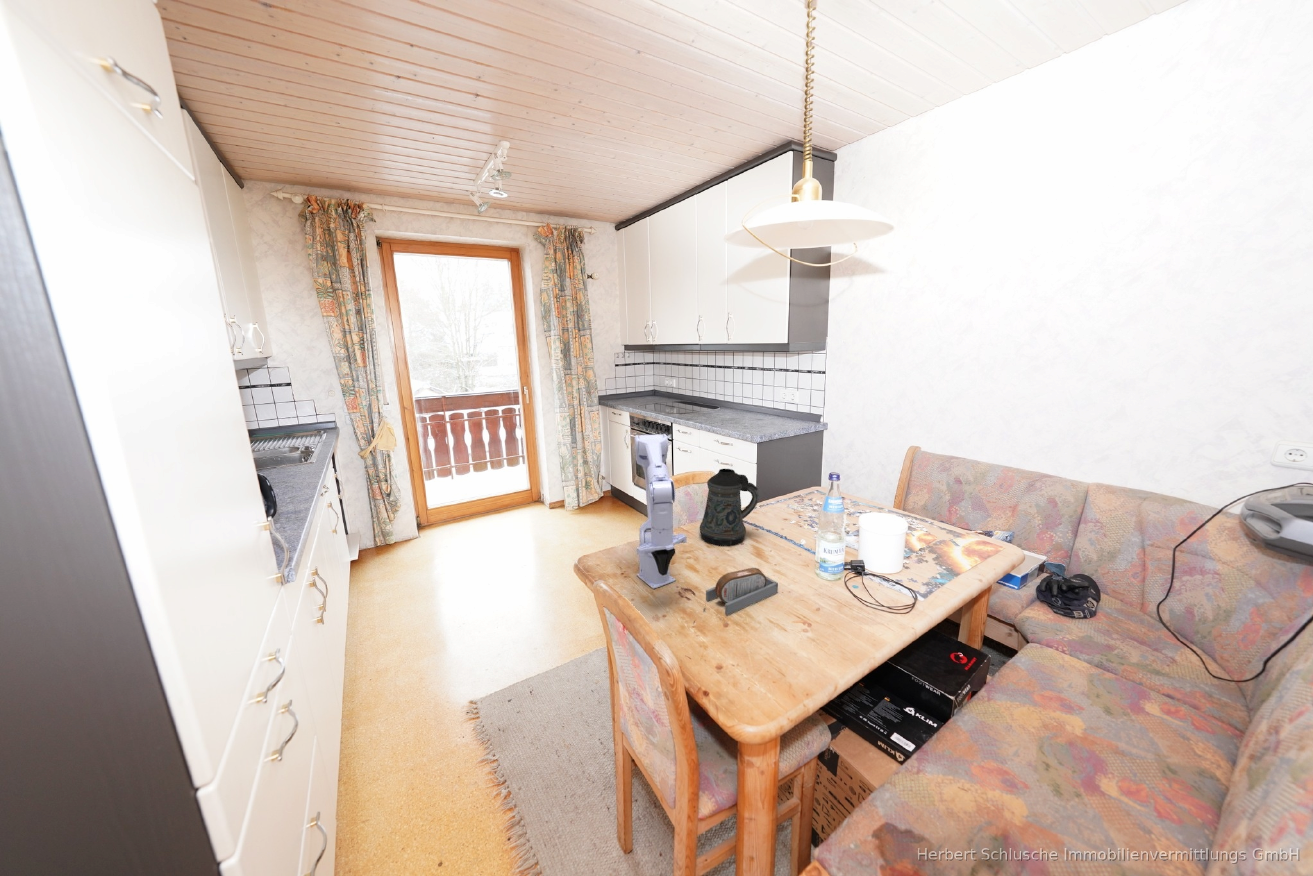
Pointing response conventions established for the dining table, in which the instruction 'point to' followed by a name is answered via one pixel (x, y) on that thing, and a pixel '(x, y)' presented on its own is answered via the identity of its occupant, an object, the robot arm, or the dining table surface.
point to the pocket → (746, 597)
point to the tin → (739, 584)
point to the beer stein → (726, 508)
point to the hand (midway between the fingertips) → (662, 573)
